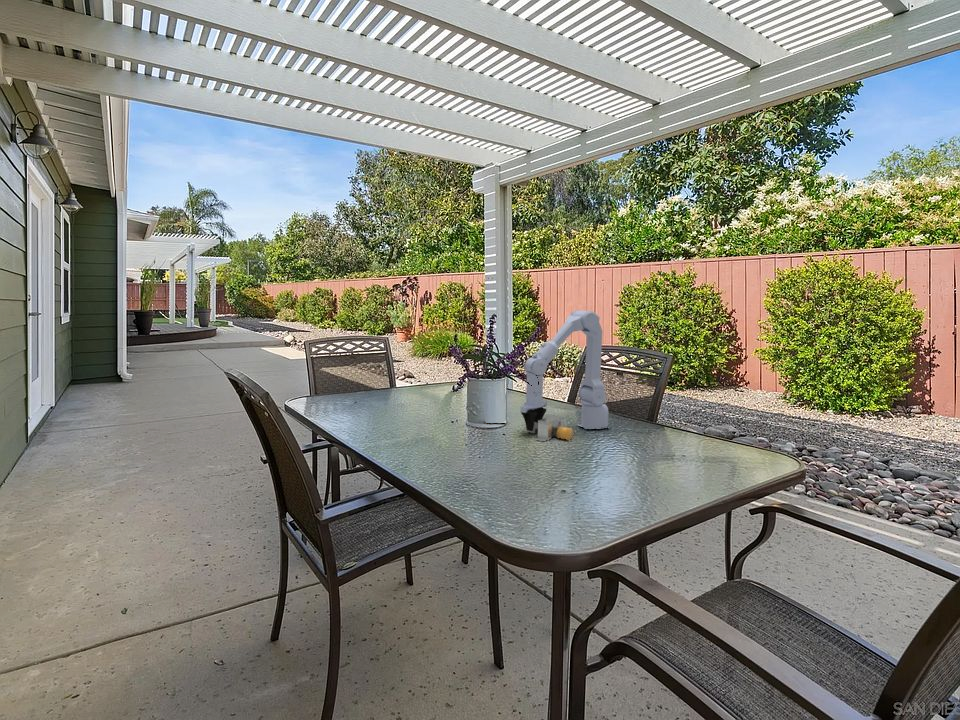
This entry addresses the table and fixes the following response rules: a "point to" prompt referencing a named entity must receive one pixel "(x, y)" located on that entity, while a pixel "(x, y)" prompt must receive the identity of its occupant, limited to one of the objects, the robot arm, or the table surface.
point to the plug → (561, 432)
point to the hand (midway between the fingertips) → (533, 429)
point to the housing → (548, 427)
